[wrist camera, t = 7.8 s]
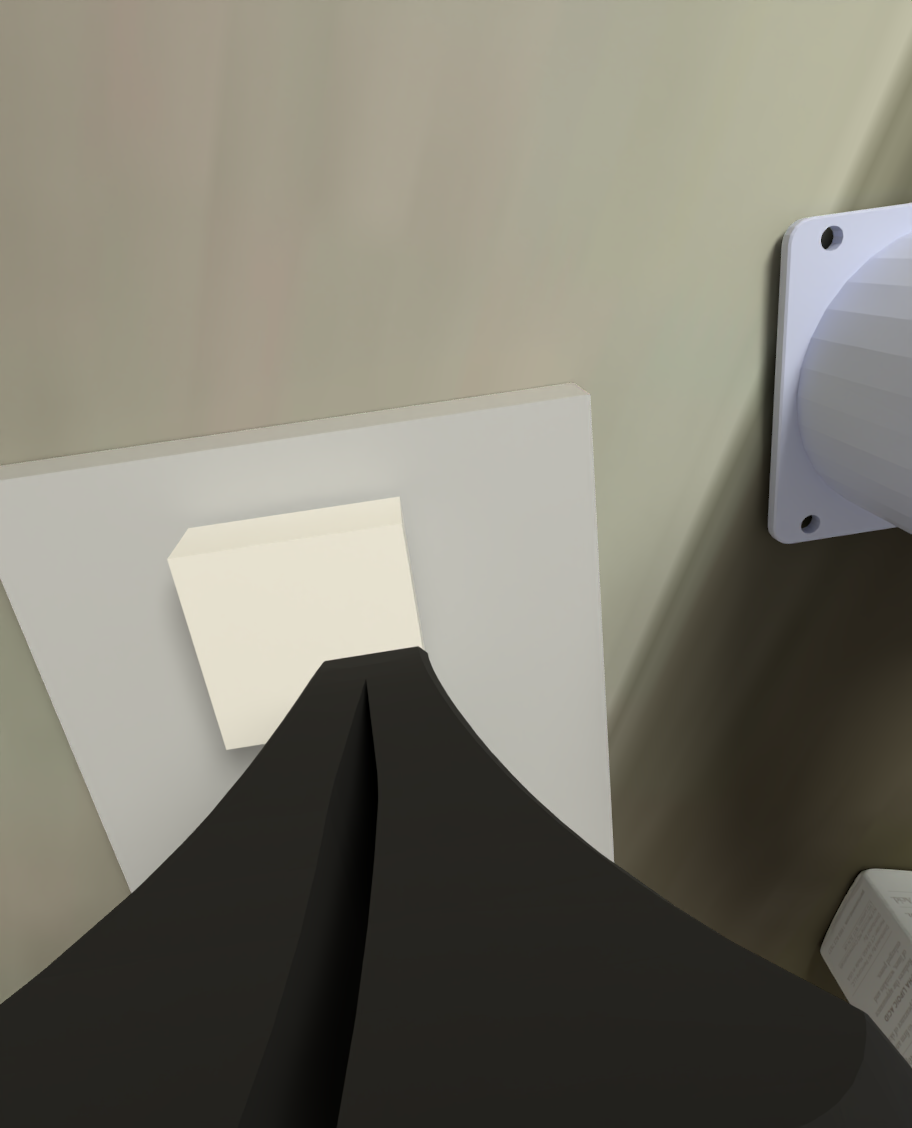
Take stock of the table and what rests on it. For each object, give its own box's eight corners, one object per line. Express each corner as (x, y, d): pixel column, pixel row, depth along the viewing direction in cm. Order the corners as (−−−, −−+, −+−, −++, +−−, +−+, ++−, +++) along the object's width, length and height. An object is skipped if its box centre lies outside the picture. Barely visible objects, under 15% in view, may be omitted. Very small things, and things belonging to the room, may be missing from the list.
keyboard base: (573, 382, 18) (590, 393, 17) (609, 987, 27) (622, 1029, 25) (-4, 466, 18) (-39, 485, 16) (227, 1054, 26) (218, 1101, 25)
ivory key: (398, 476, 18) (401, 523, 15) (425, 644, 20) (433, 716, 17) (203, 505, 18) (167, 559, 15) (250, 671, 20) (226, 750, 17)
